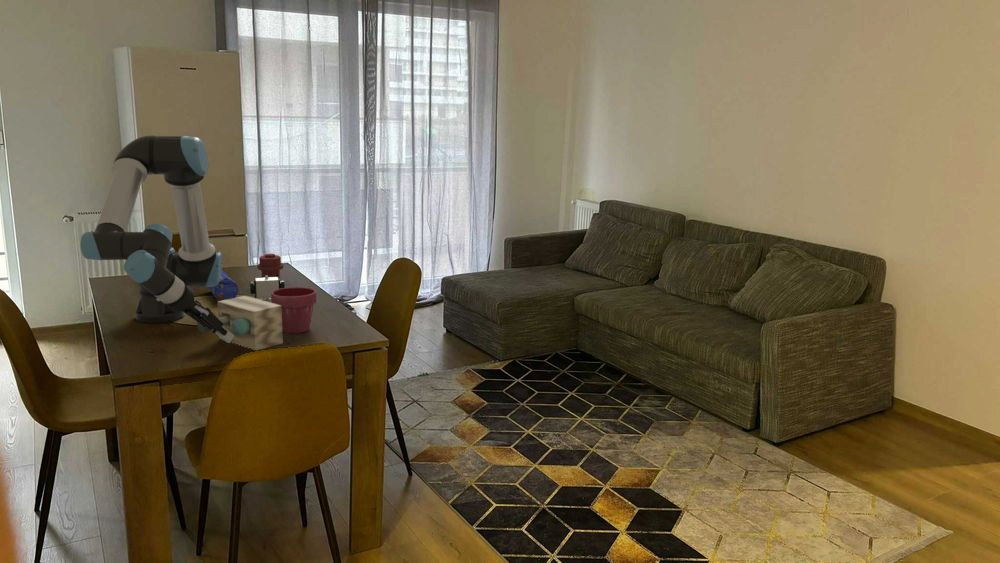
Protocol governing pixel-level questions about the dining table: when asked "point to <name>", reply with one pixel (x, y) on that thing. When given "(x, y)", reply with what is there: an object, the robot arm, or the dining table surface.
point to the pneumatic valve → (265, 287)
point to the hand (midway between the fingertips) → (230, 338)
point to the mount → (254, 321)
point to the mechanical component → (270, 265)
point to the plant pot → (295, 307)
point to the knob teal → (241, 326)
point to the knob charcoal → (204, 329)
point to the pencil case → (225, 288)
